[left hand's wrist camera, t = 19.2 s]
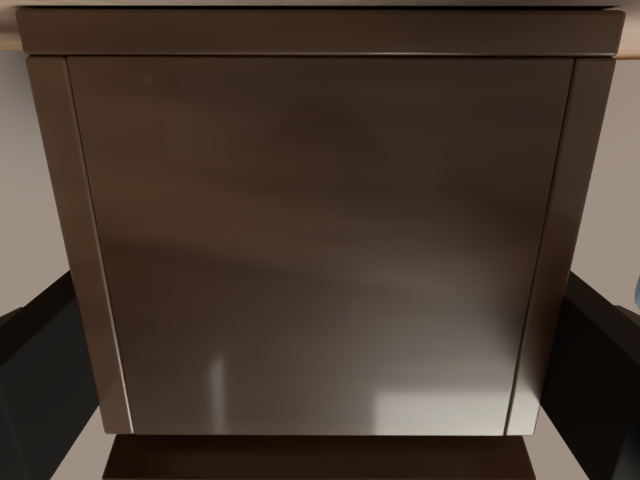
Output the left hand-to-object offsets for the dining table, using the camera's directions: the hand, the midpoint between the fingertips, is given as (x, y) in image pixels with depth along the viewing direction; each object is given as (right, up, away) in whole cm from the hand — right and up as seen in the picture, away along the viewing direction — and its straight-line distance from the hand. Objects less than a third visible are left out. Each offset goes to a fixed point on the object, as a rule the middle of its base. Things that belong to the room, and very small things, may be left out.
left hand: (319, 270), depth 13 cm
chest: (0, +7, +1) cm, 7 cm away
